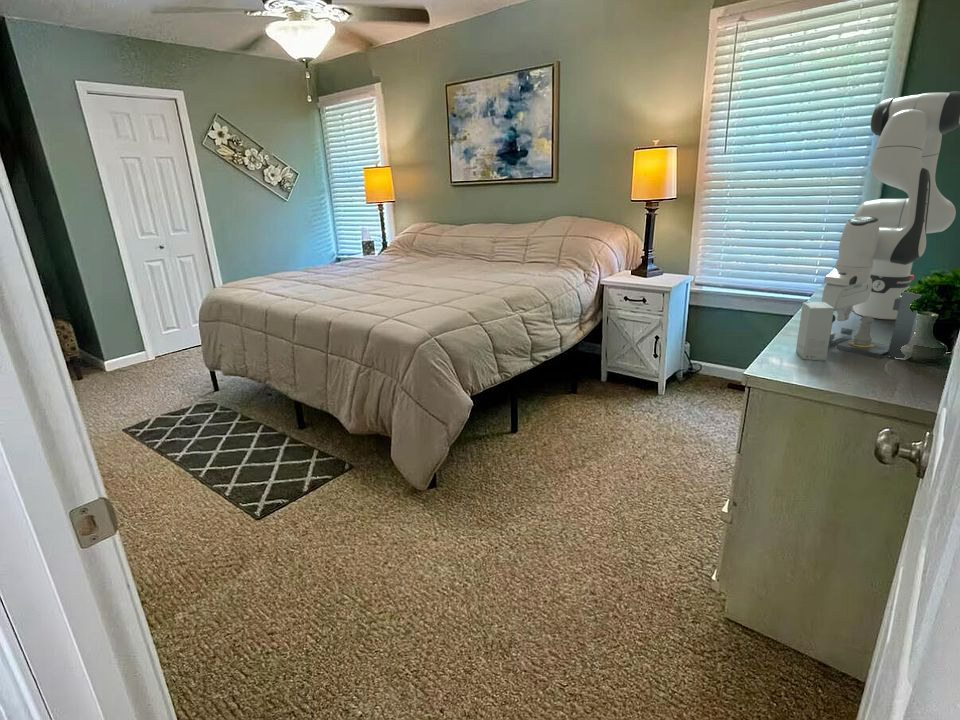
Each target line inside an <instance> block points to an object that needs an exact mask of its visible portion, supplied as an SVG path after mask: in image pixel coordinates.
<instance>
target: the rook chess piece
mask: <svg viewBox="0 0 960 720" xmlns="http://www.w3.org/2000/svg"><path fill="white" fill-rule="evenodd" d="M861 316H862V315H861ZM859 320H860V321H861V322H860V324H859V325H860V327H859V330H858V331H857V334H856V335H854V336H853V339H855V340H853V342H854V343H855V344H858V345H870V344H871V343H872V342H873V338H872V335H871V328H872V326H873V324H872V323H874V322H875V318H873V317H872V316H870V317H869V316H862V317H861V318H860V319H859Z"/></svg>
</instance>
